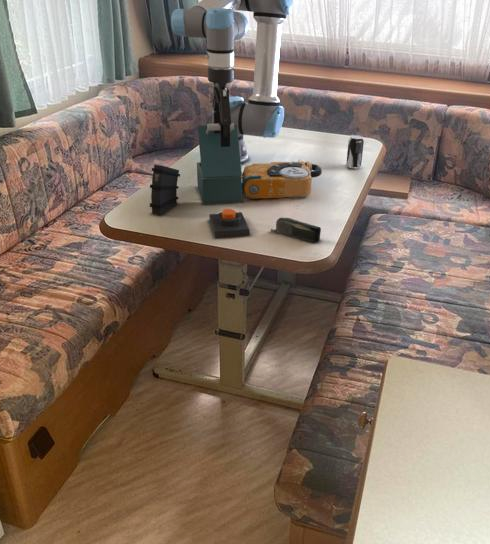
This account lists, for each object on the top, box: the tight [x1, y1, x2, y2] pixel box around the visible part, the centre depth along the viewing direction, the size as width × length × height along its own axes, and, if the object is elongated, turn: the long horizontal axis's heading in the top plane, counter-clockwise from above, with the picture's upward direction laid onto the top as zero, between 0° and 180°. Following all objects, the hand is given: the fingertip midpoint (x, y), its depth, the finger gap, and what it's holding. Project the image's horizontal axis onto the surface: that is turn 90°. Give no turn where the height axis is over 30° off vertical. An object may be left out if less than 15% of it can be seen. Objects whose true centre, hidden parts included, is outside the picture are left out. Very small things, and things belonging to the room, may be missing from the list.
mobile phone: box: [270, 217, 322, 244], centre depth 167 cm, size 5×3×15 cm
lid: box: [197, 123, 243, 178], centre depth 179 cm, size 16×13×8 cm
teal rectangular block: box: [196, 161, 243, 206], centre depth 192 cm, size 16×13×9 cm
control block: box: [208, 211, 250, 239], centre depth 171 cm, size 12×10×4 cm
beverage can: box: [345, 134, 365, 170], centre depth 219 cm, size 6×6×12 cm
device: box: [241, 159, 323, 200], centre depth 199 cm, size 23×8×30 cm
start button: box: [221, 208, 237, 219], centre depth 170 cm, size 4×4×2 cm
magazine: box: [149, 164, 181, 217], centre depth 180 cm, size 4×13×15 cm, turn 160°
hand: (221, 139), depth 176 cm, fingers open, 13 cm apart
